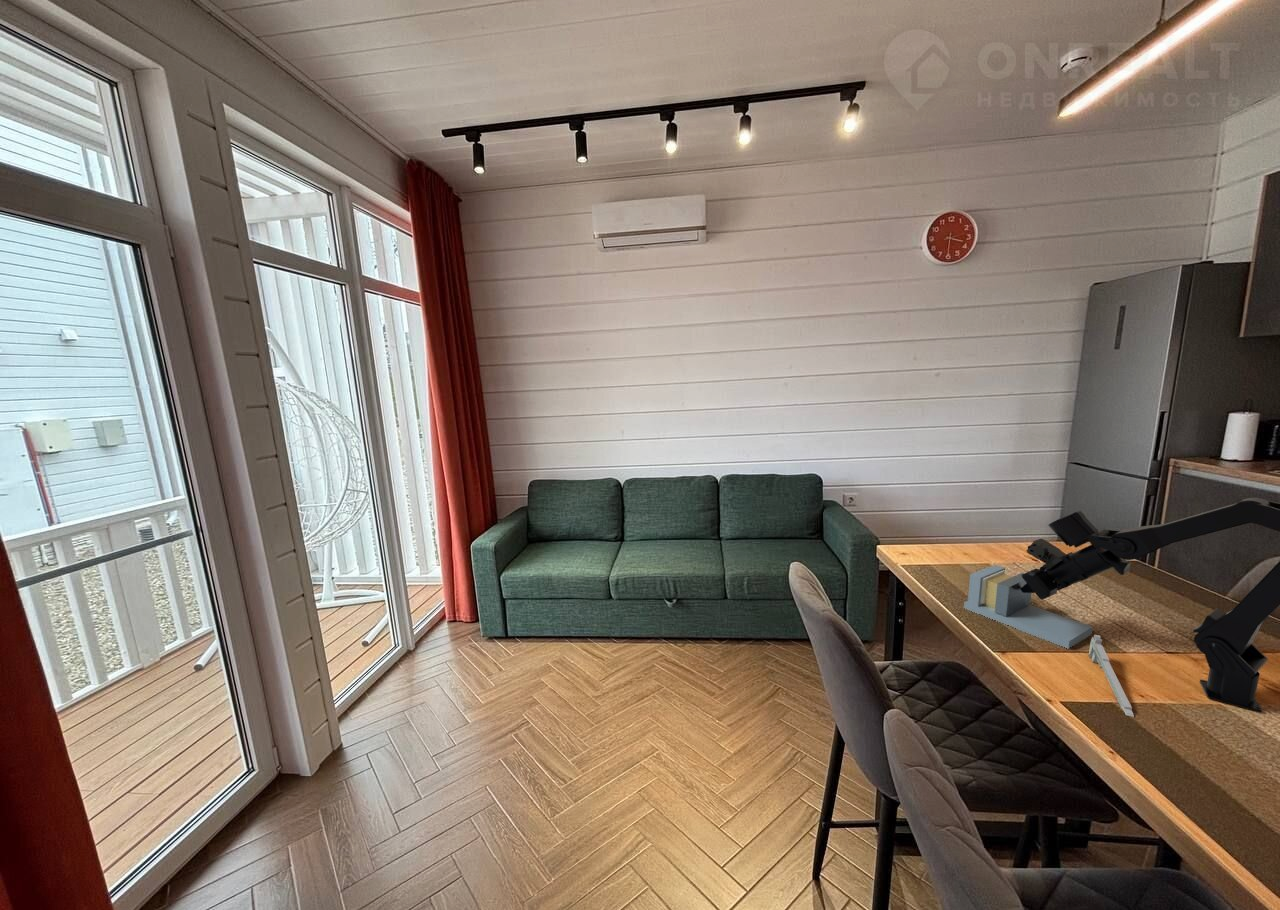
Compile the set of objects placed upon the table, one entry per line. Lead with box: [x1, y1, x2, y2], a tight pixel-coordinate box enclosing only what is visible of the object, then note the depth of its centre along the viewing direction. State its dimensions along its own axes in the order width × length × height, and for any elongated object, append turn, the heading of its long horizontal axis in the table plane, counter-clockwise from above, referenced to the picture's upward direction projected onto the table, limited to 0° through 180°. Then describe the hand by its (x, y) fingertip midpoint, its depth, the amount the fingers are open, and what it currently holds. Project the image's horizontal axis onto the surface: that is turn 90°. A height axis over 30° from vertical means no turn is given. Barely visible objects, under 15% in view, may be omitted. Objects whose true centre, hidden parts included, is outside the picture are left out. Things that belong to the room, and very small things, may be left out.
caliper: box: [1088, 634, 1135, 718], centre depth 93 cm, size 20×1×6 cm, turn 151°
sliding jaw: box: [995, 572, 1032, 616], centre depth 120 cm, size 3×12×8 cm, turn 118°
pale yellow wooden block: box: [984, 573, 1013, 609], centre depth 122 cm, size 3×8×7 cm, turn 118°
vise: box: [963, 564, 1093, 650], centre depth 117 cm, size 22×12×10 cm, turn 28°
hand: (1022, 590), depth 118 cm, fingers closed
